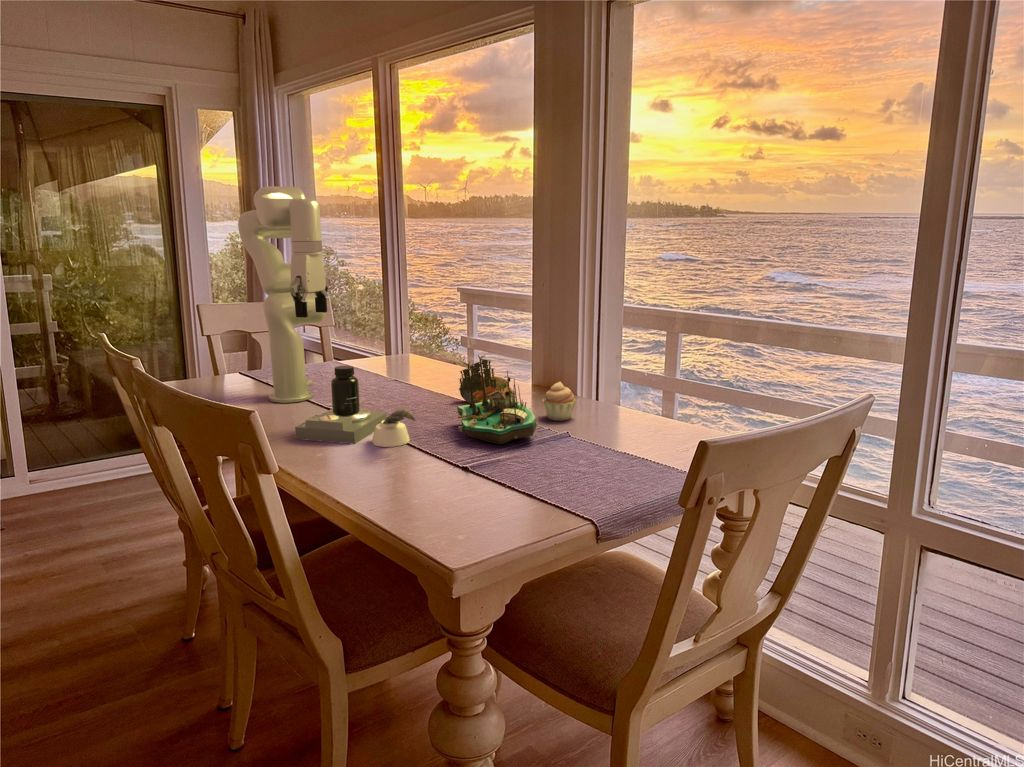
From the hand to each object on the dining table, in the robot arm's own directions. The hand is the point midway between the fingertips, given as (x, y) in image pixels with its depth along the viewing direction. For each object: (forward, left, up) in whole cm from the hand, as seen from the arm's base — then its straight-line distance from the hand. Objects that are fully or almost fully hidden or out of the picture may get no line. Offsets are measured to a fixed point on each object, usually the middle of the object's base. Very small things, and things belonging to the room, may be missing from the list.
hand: (311, 314), depth 189 cm
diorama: (+2, +50, -28) cm, 58 cm away
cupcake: (-16, +63, -28) cm, 71 cm away
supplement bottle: (+6, +12, -24) cm, 28 cm away
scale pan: (+7, +12, -25) cm, 29 cm away
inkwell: (+17, +31, -28) cm, 45 cm away
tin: (-26, +39, -29) cm, 55 cm away
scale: (+9, +12, -28) cm, 32 cm away
